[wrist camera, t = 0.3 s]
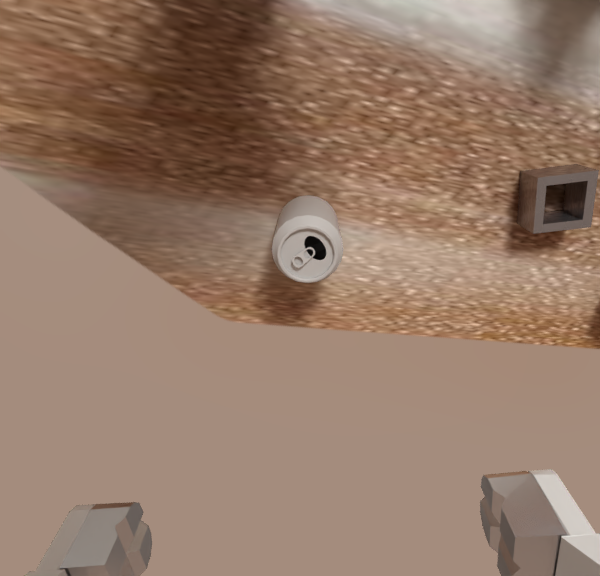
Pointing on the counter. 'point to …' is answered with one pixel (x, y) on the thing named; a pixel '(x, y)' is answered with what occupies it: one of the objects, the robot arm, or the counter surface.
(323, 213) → the can
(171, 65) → the counter surface
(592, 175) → the hollow square tube
